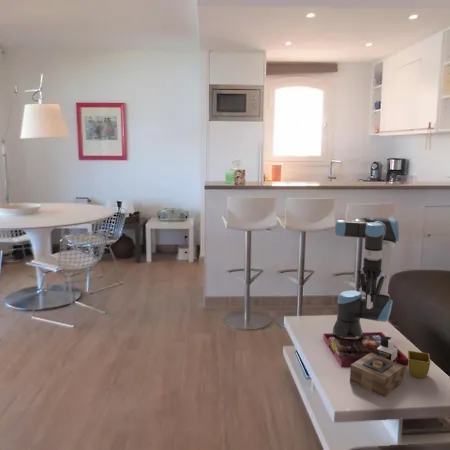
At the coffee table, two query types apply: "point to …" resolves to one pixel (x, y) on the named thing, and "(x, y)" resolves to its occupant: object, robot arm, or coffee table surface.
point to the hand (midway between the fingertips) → (369, 307)
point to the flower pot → (418, 363)
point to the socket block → (377, 374)
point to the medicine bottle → (387, 348)
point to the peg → (377, 364)
